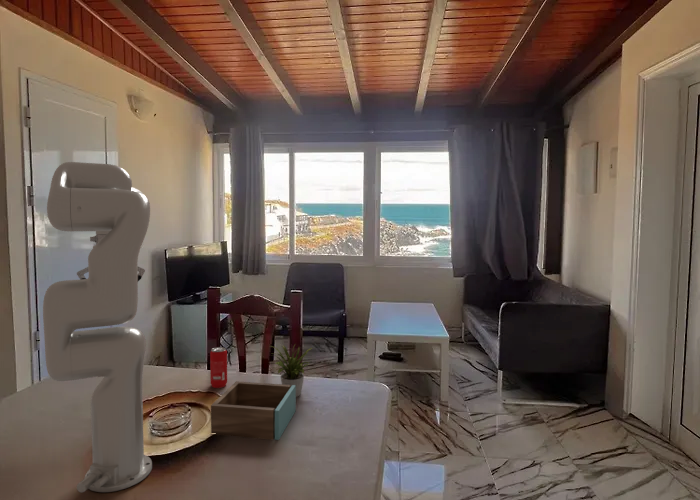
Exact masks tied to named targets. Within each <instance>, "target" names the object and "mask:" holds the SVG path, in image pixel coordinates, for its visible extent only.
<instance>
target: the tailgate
mask: <svg viewBox="0 0 700 500" xmlns="http://www.w3.org/2000/svg"><path fill="white" fill-rule="evenodd" d="M296 398H297V397H296V385H292V386H291V388H290V389H289V391H288V392H287V393H286V395H285V396H284V398H283V399H282V401H281V402H280V404H279V405H278V407H277V408H276V409H275V438H274V440H275V441H279V440H281V439H280V438H281V437H282V435H283V434H284V432H285V430H286V428H287V427H288V425H289V423H290V421H291V420H292V418H293V416H294V414H295V413H296V408H297V407H296V403H297V402H296V401H297V400H296Z"/></svg>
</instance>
